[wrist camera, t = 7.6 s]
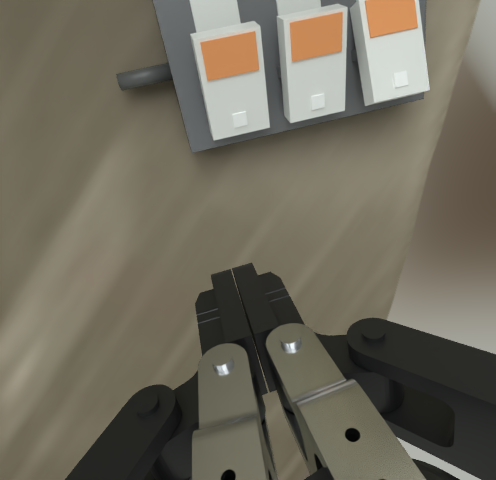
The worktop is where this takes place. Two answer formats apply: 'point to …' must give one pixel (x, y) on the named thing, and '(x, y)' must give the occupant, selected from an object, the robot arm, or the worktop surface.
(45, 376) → the worktop surface
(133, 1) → the worktop surface
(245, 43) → the rocker
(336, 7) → the block
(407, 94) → the block
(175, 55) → the rocker switch panel
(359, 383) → the robot arm
